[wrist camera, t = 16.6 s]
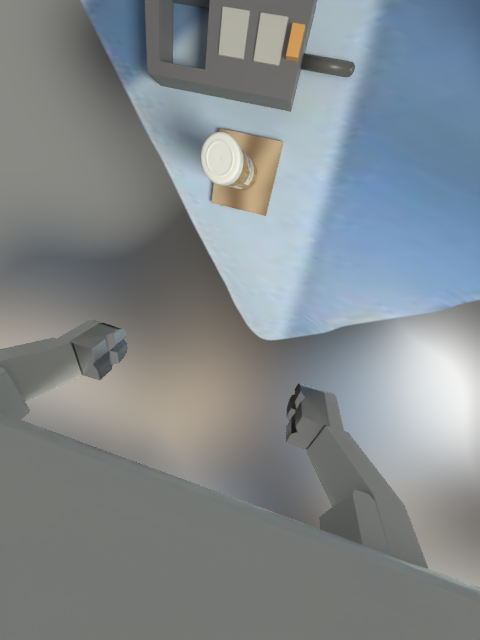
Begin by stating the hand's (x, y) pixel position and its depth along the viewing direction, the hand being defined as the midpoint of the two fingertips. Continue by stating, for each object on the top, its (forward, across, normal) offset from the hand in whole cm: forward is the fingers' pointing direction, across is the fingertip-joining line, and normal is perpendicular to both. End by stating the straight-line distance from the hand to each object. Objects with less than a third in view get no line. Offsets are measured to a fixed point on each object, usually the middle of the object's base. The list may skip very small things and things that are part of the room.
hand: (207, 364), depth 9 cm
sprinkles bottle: (+34, +7, -9) cm, 35 cm away
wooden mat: (+34, +7, -9) cm, 36 cm away
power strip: (+34, +9, -22) cm, 41 cm away
